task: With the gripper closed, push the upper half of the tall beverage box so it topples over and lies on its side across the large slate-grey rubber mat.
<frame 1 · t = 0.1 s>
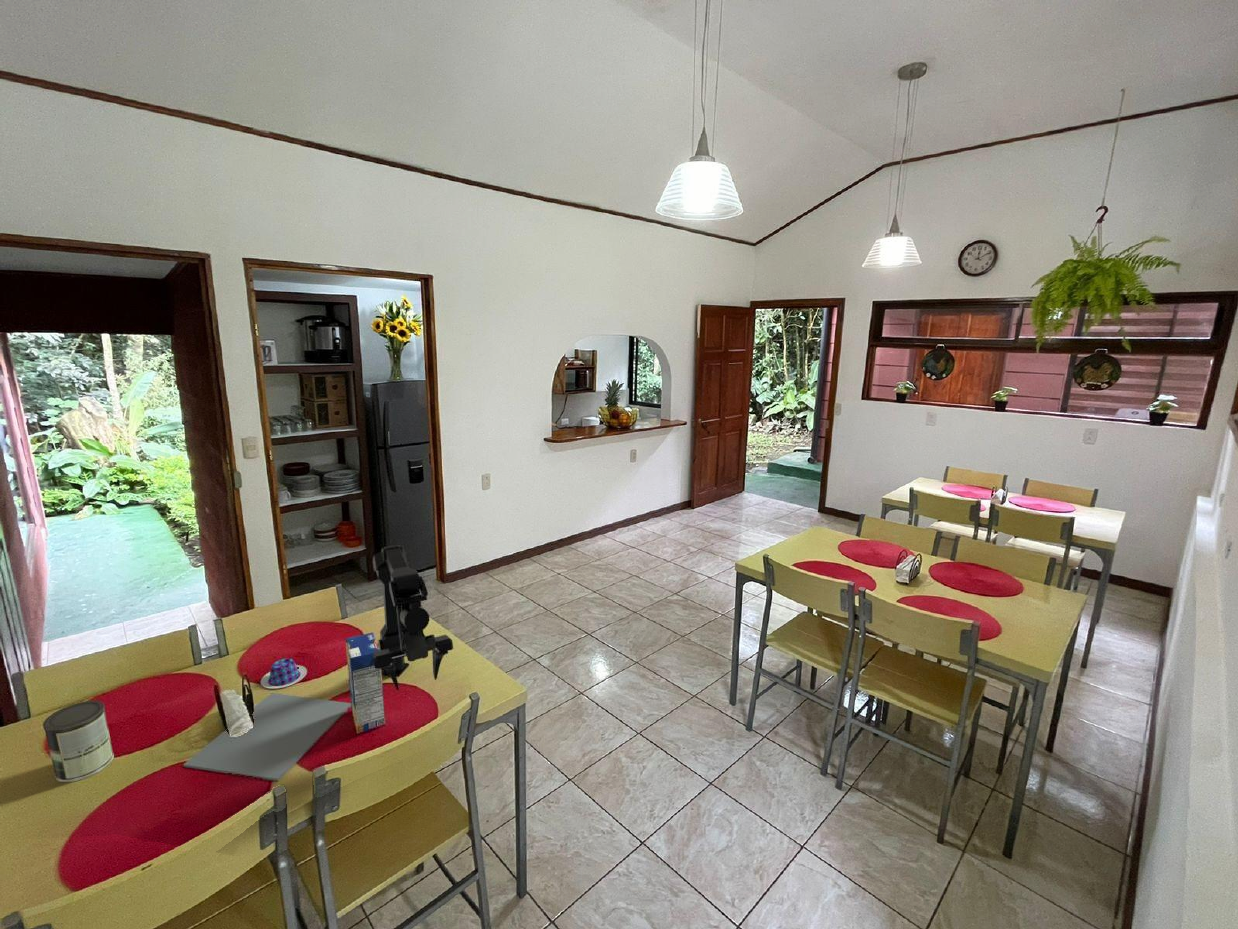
hand: (416, 684, 142), 15 cm above the table, tool pointing down, fingers open, 9 cm apart
pudding: (284, 679, 169), on the table
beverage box: (368, 718, 152), on the table
coffee can: (85, 767, 133), on the table
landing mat: (274, 733, 145), on the table
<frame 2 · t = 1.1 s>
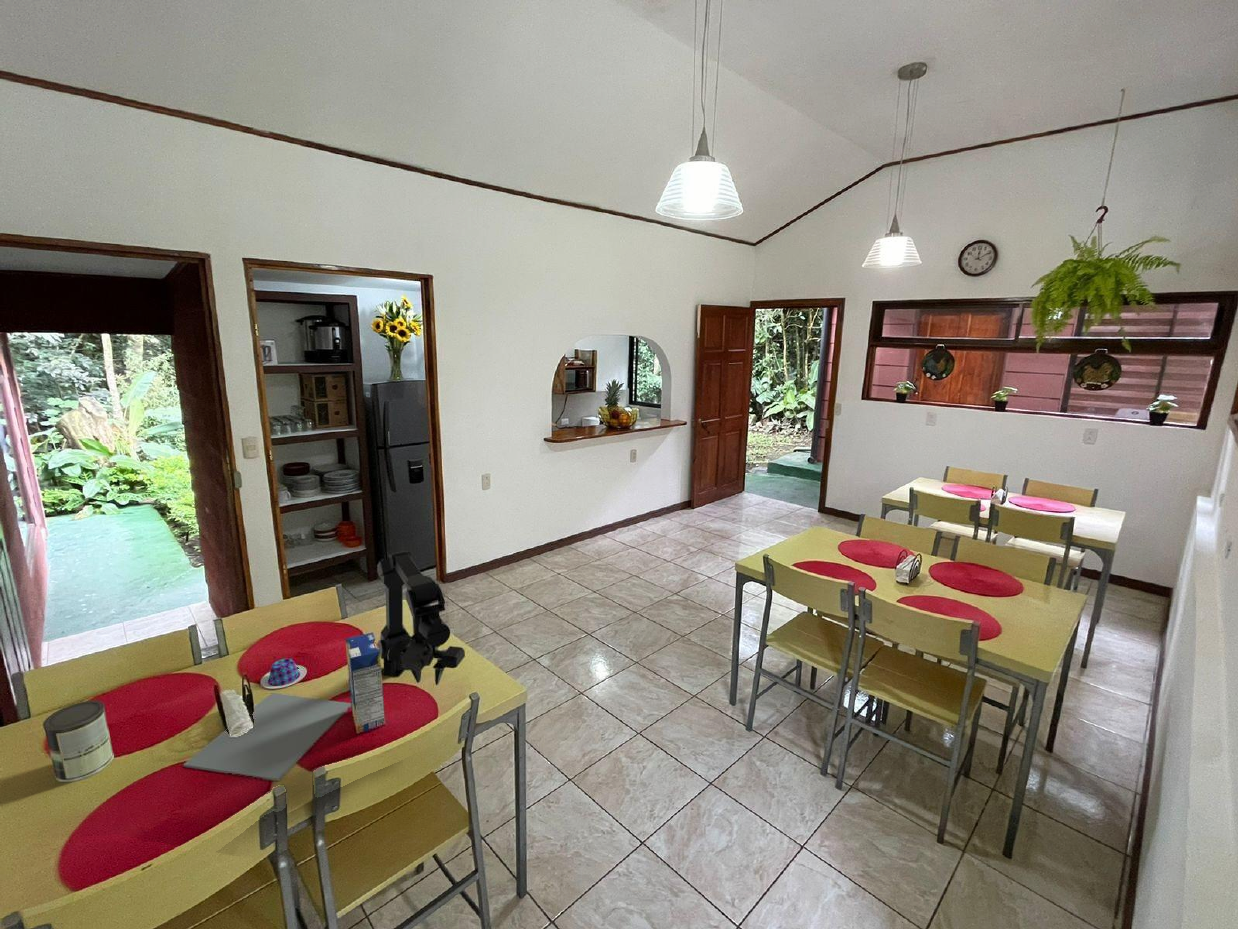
hand: (428, 683, 146), 13 cm above the table, tool pointing down, fingers open, 5 cm apart
nothing on the table moved.
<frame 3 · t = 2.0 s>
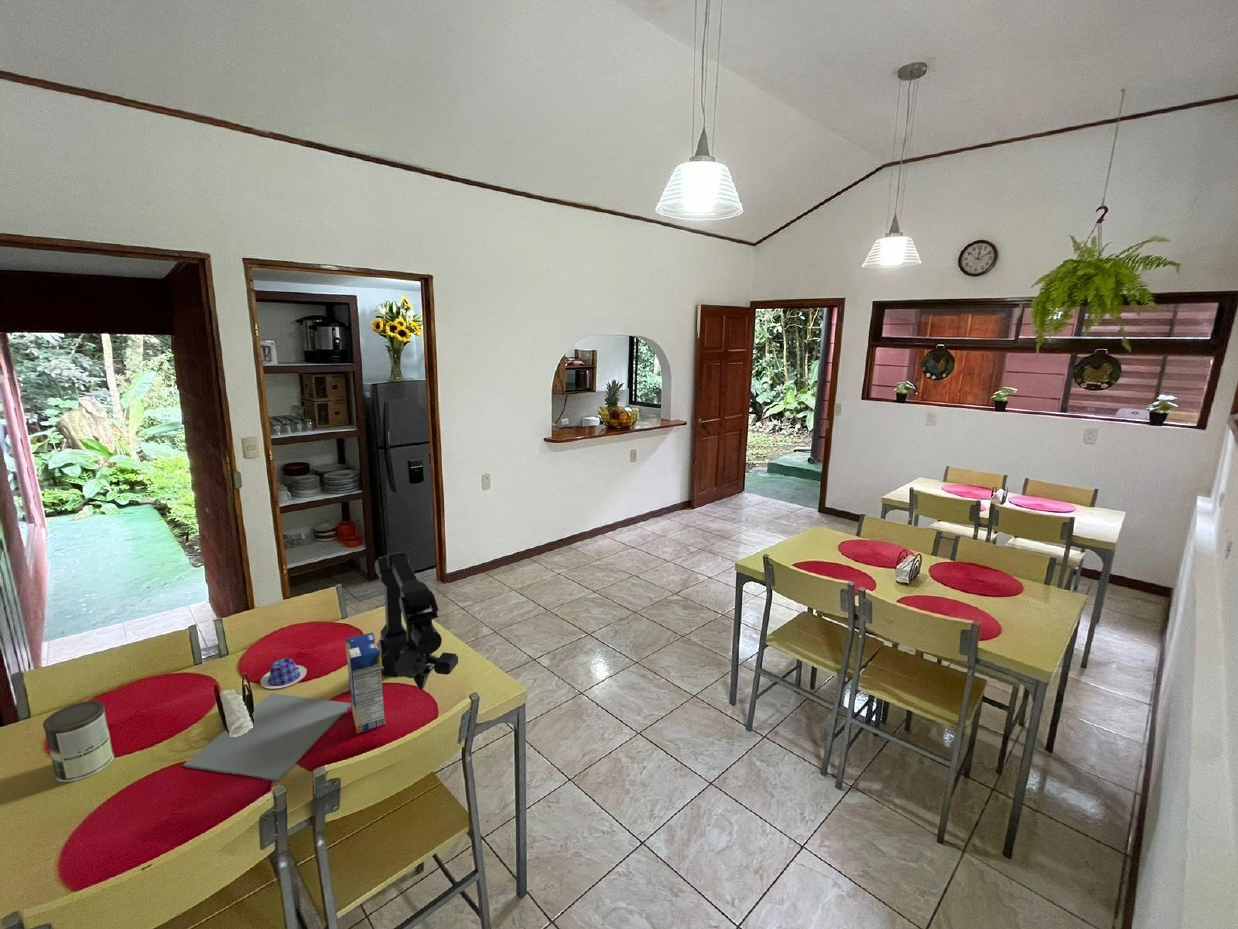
hand: (421, 689, 147), 11 cm above the table, tool pointing down, fingers closed
nothing on the table moved.
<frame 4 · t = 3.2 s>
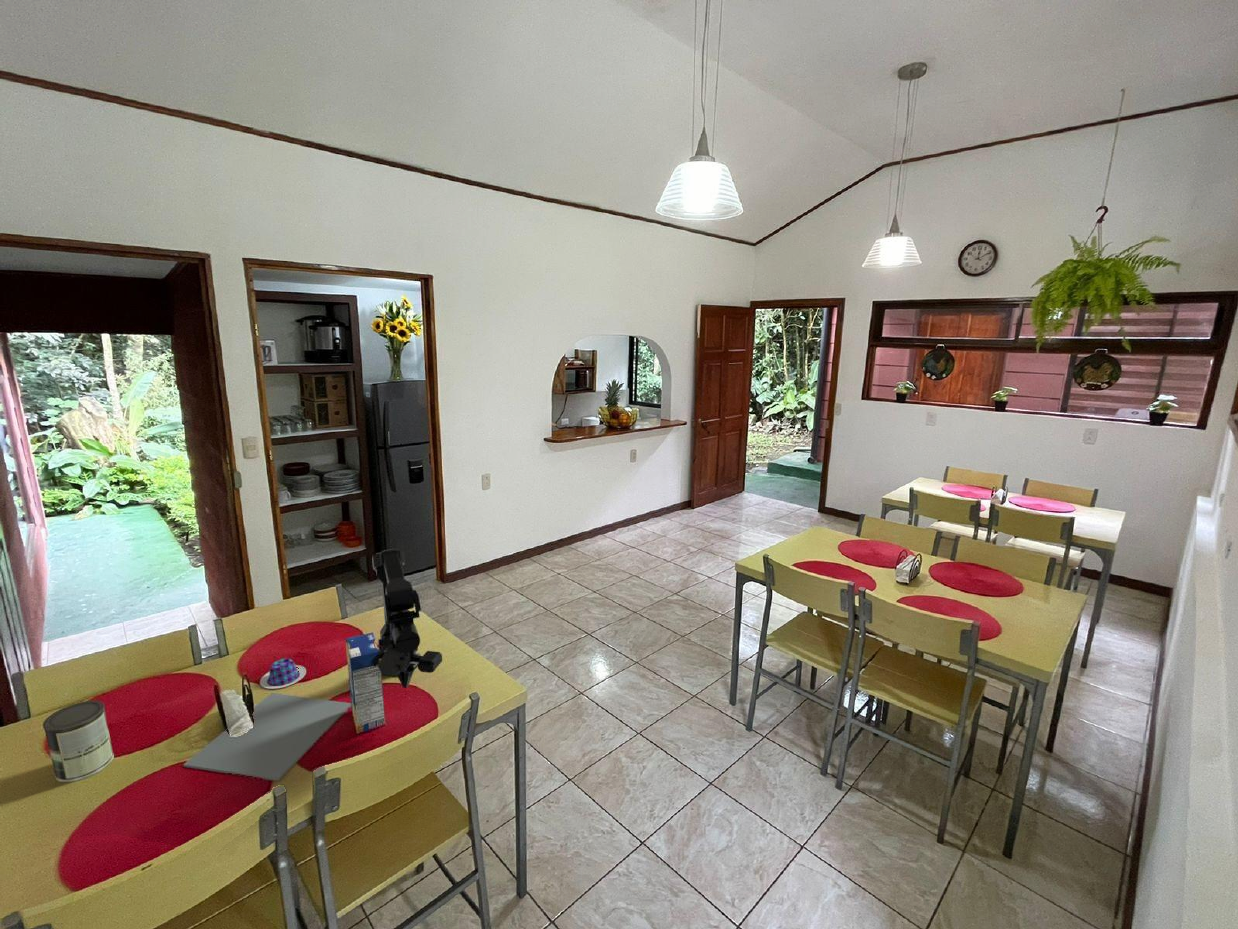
hand: (405, 687, 148), 11 cm above the table, tool pointing down, fingers closed
nothing on the table moved.
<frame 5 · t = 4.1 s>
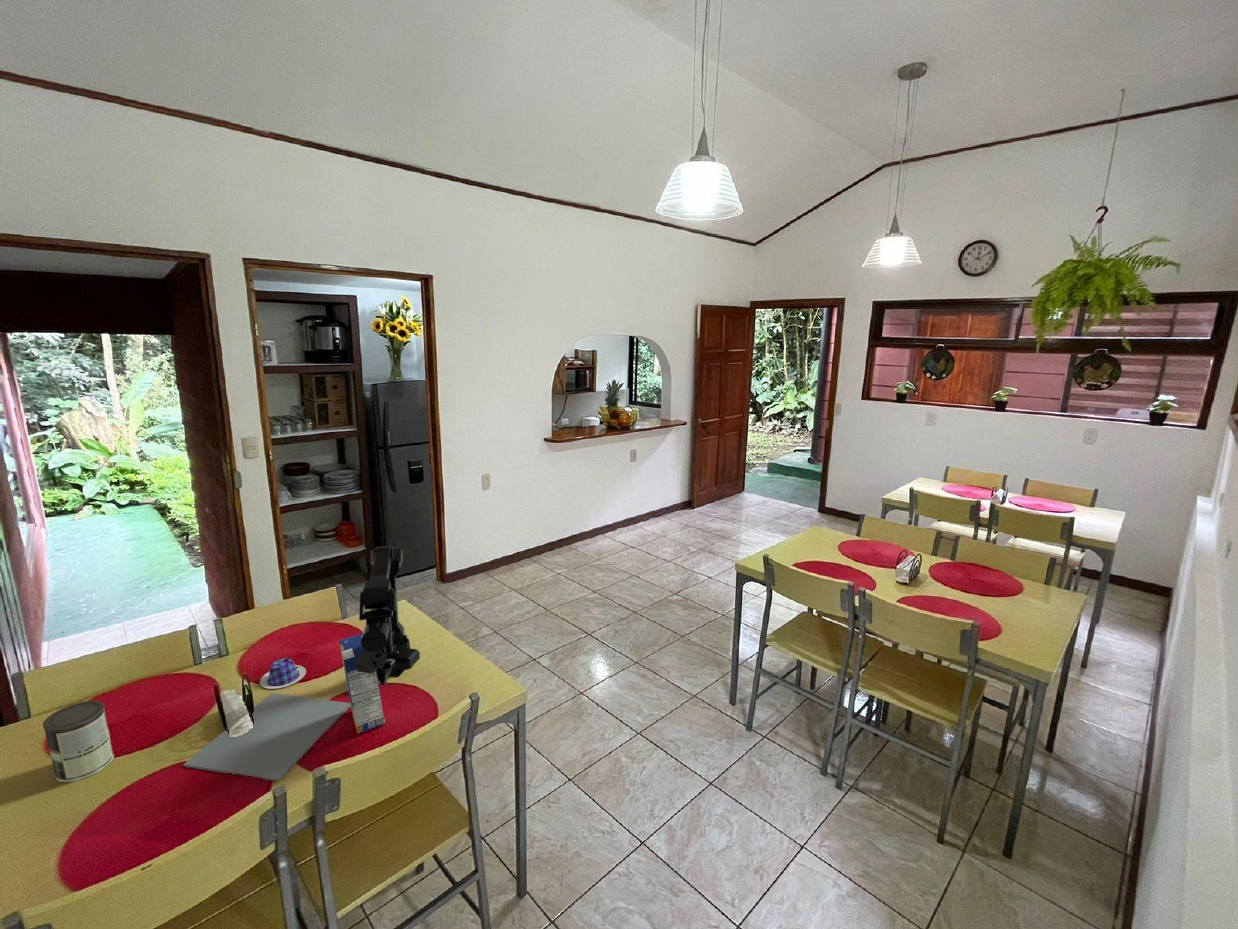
hand: (383, 684, 149), 11 cm above the table, tool pointing down, fingers closed
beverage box: (368, 717, 152), on the table, touching gripper
everything else where it was.
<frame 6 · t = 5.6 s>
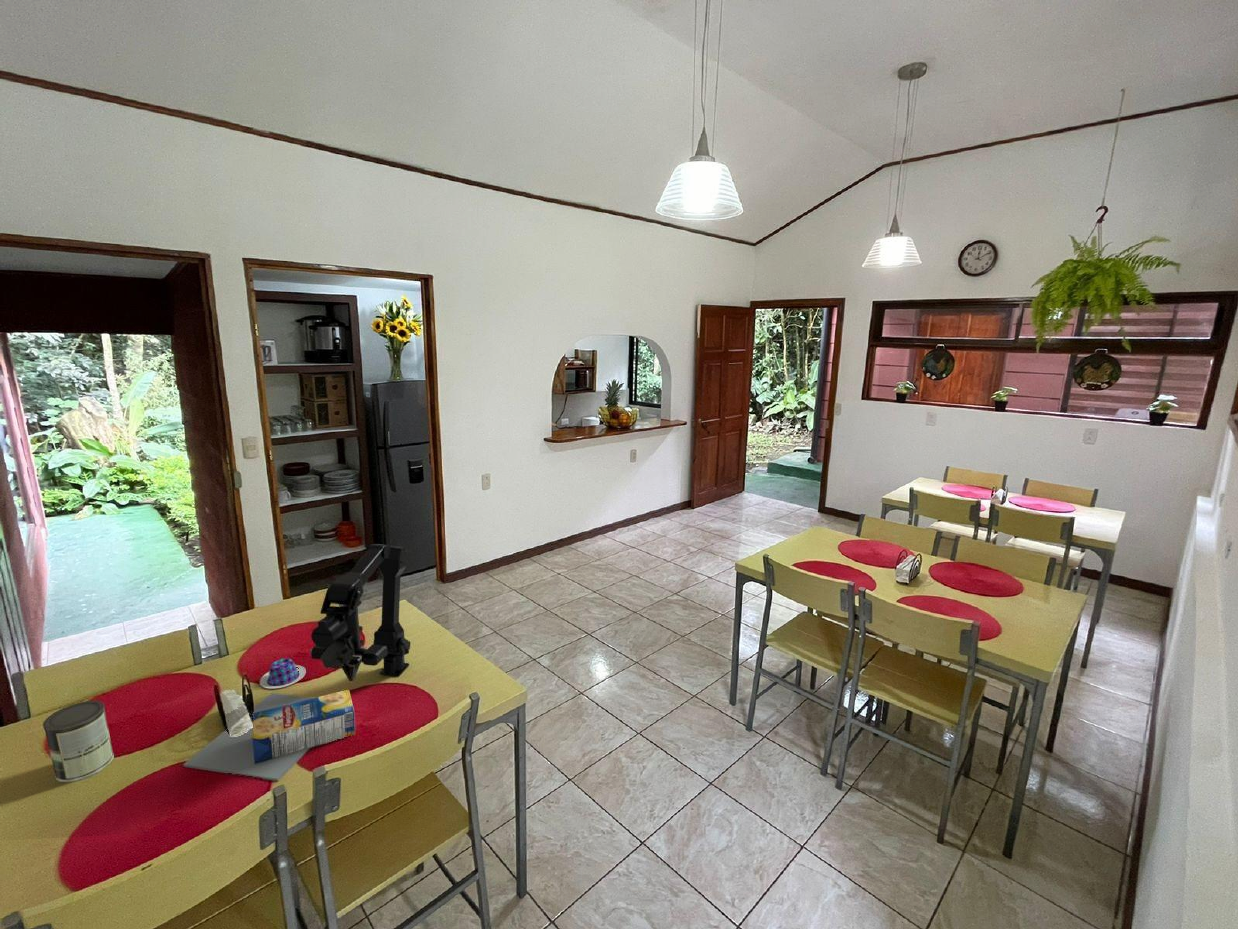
hand: (351, 680, 150), 11 cm above the table, tool pointing down, fingers closed
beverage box: (352, 711, 149), point 3 cm above the table, touching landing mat
everything else where it was.
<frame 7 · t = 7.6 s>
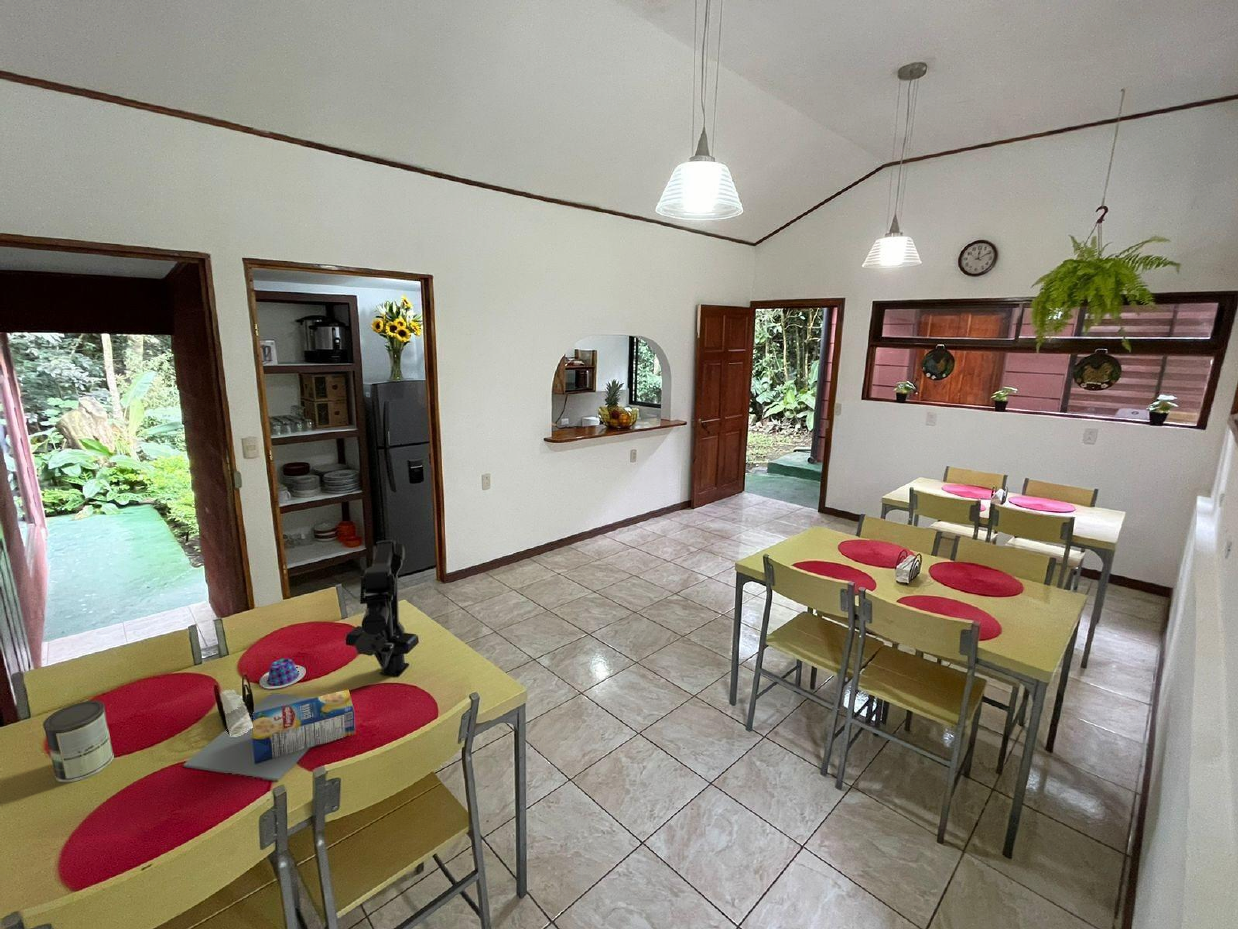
hand: (384, 667, 153), 13 cm above the table, tool pointing down, fingers closed
nothing on the table moved.
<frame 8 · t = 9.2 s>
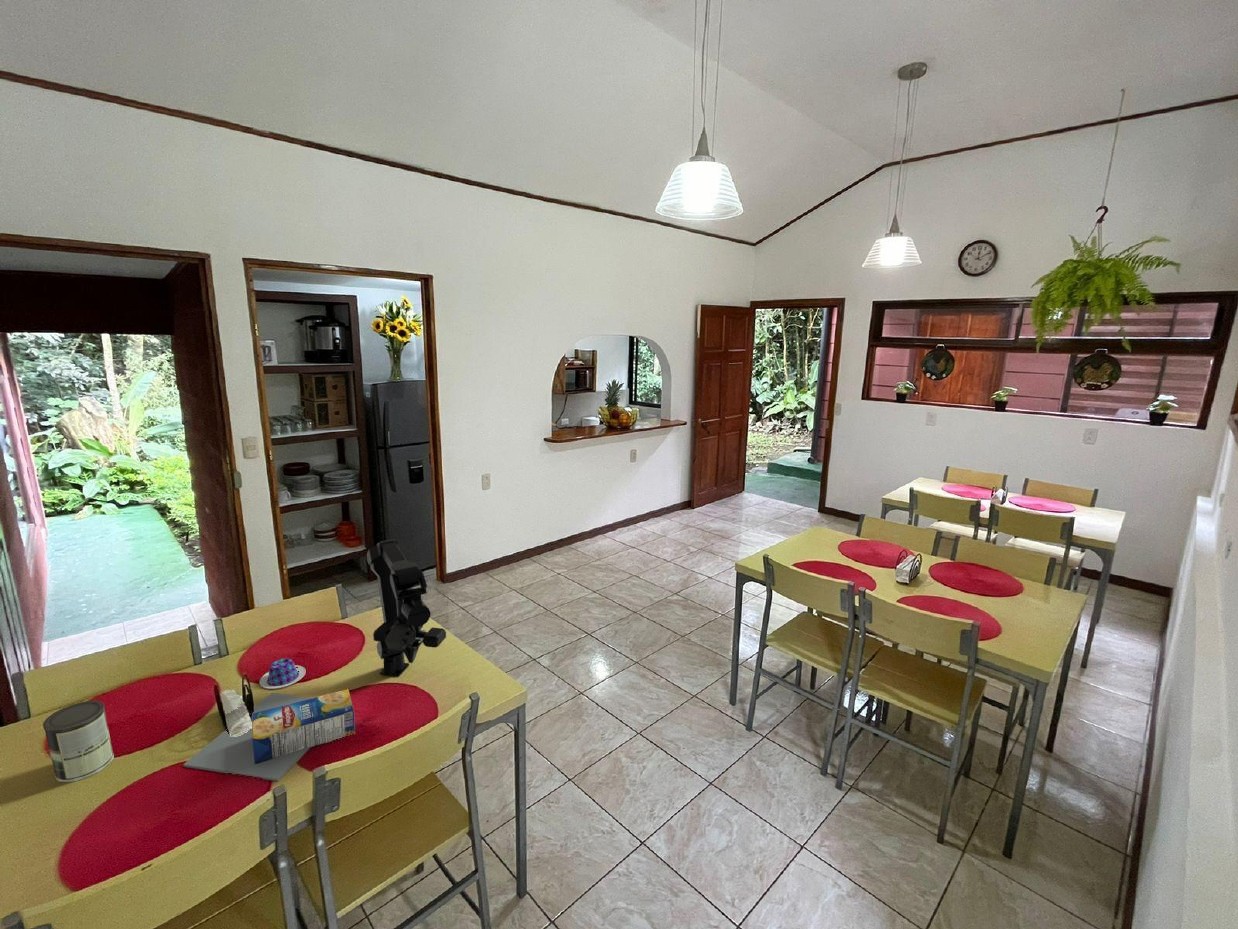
hand: (411, 662, 155), 13 cm above the table, tool pointing down, fingers closed
nothing on the table moved.
at the end: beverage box tilted 88°; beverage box touching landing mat, table; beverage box inside the target area (4.9 cm from its centre), point 3.3 cm above the table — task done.
